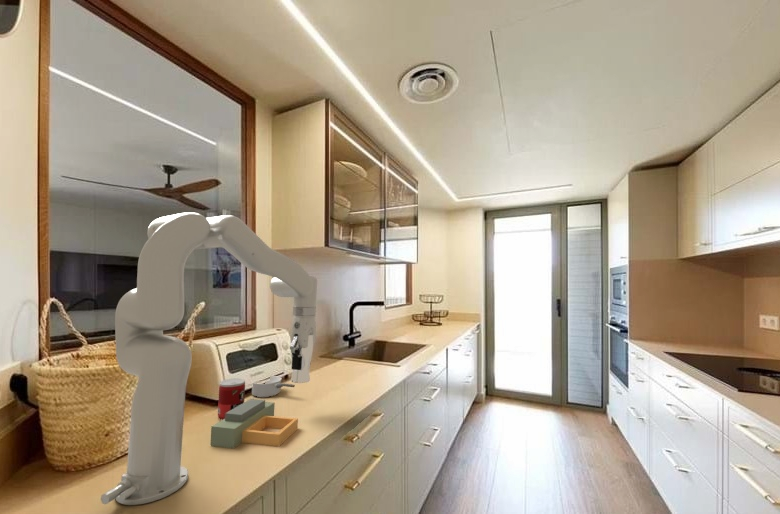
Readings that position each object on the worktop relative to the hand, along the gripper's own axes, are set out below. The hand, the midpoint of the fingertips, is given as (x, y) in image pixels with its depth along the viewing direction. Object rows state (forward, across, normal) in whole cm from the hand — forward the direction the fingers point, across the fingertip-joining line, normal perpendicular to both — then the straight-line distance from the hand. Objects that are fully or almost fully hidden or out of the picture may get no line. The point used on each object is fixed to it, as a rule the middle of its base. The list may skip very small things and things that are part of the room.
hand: (301, 366), depth 108 cm
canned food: (+17, -3, +23) cm, 28 cm away
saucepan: (+16, +18, +19) cm, 31 cm away
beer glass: (+5, 0, 0) cm, 5 cm away
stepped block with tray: (+17, -12, +6) cm, 21 cm away
